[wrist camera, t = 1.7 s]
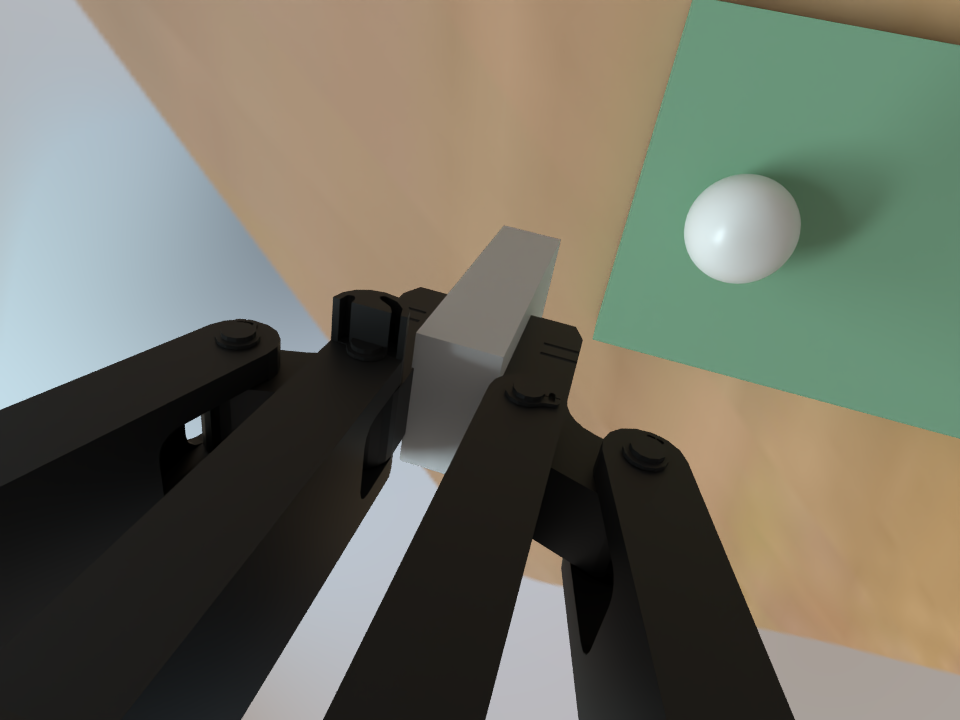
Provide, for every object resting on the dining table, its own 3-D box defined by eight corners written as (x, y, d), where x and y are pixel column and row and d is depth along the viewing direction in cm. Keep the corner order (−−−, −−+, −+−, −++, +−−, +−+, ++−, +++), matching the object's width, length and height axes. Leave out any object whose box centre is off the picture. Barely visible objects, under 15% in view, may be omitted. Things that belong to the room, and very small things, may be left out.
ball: (702, 153, 24) (708, 175, 20) (808, 177, 23) (833, 203, 20) (669, 249, 26) (670, 284, 22) (765, 273, 25) (781, 312, 22)
